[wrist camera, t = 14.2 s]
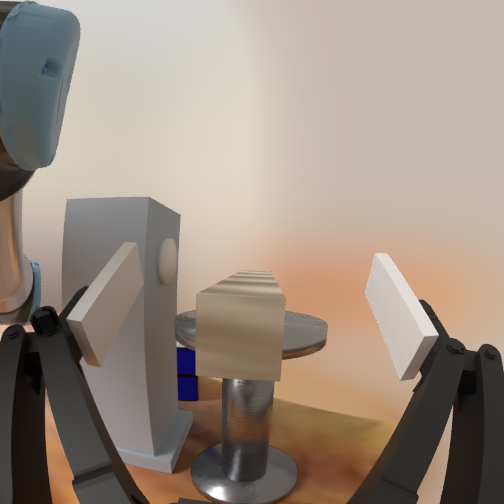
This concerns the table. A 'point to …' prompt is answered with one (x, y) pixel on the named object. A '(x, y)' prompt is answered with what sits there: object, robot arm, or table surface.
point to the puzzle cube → (186, 374)
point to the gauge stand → (133, 325)
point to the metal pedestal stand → (250, 425)
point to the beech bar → (240, 328)
